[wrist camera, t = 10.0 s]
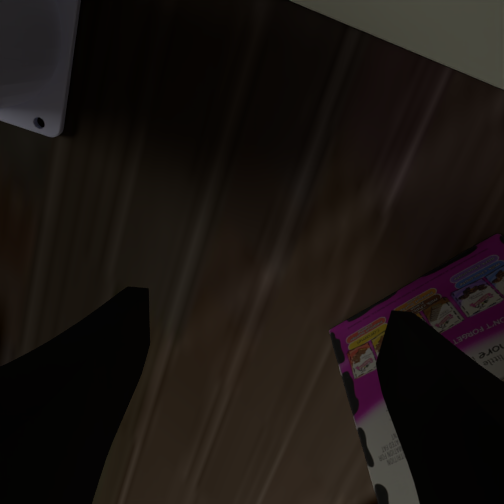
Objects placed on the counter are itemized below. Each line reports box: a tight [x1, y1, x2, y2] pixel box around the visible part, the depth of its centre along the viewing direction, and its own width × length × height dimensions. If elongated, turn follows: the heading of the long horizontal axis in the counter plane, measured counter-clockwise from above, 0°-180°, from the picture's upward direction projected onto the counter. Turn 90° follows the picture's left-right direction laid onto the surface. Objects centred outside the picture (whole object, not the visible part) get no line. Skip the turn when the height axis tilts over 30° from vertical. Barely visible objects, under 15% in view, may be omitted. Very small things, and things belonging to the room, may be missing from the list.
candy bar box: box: [329, 234, 504, 504], centre depth 17 cm, size 11×5×16 cm, turn 127°
